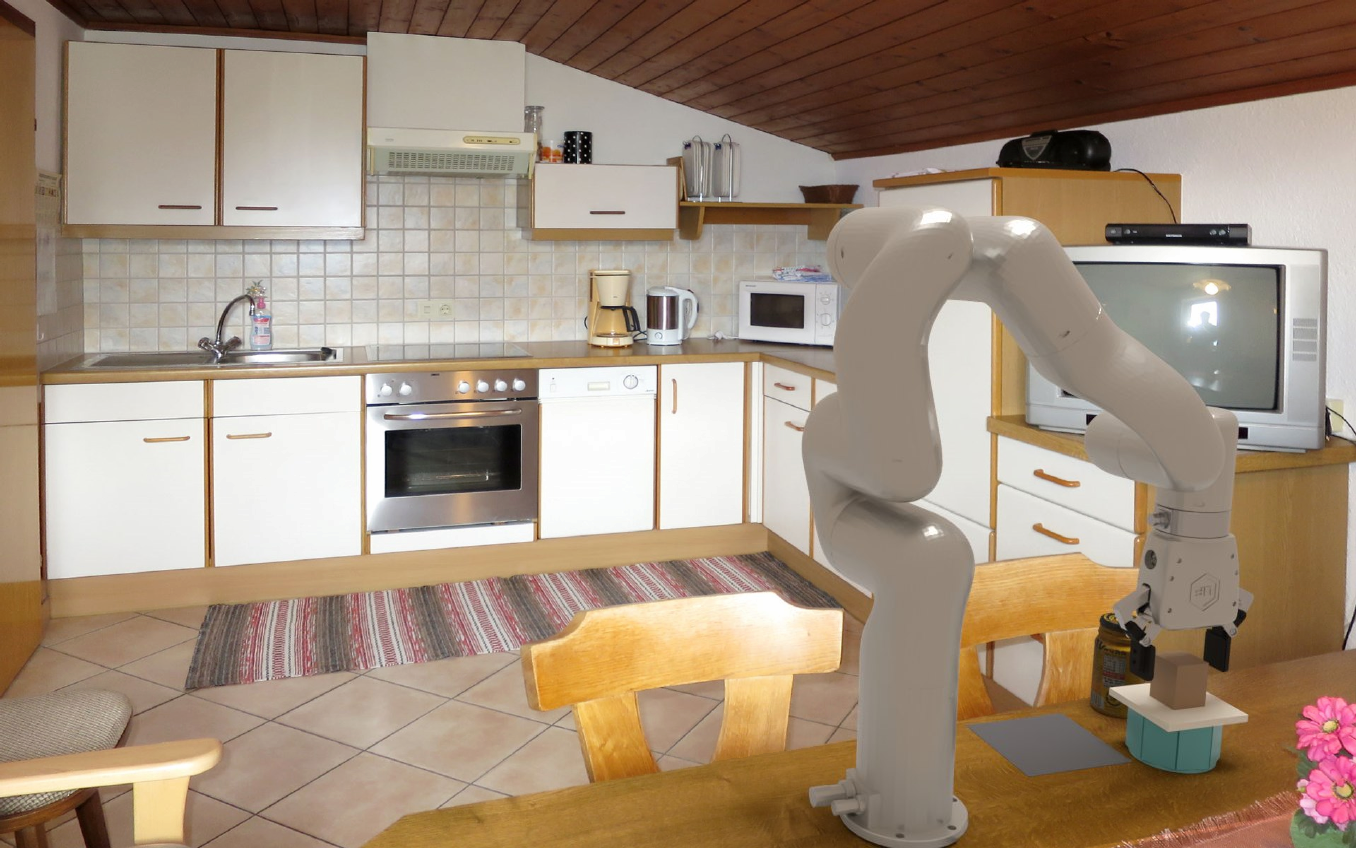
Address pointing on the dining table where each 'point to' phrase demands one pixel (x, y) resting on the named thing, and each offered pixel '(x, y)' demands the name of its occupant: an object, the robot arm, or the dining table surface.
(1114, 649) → the condiment
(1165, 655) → the lid
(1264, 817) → the dining table surface
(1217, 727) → the bowl
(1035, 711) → the dining table surface
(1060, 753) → the mat
